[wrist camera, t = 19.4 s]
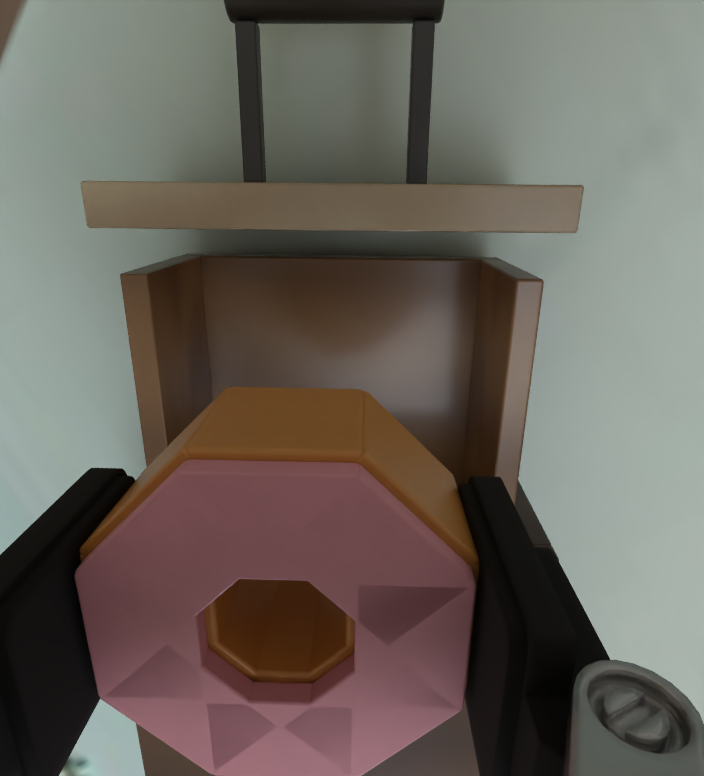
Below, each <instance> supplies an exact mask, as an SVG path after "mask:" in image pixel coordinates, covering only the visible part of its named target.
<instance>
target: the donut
mask: <svg viewBox="0 0 704 776" xmlns="http://www.w3.org/2000/svg"><path fill="white" fill-rule="evenodd" d="M79 552H80V560H81V564H80V566H79V567H78V568H77V569H76V572H75V575H74V578H75V583H76V588H77V593H78V597H79V602H80V607H81V612H82V617H83V622H84V627H85V632H86V637H87V642H88V647H89V652H90V656H91V661H92V666H93V671H94V676H95V681H96V686H97V691H98V696H99V697H100V698H101V699H102V700H103V701H104V702H106V703H107V704H109V705H110V706H112V707H113V708H115V709H116V710H118V711H119V712H121V713H122V714H124V715H125V716H126V717H128V718H129V719H131V720H132V721H134V722H135V723H137V724H138V725H140V726H141V727H143V728H144V729H145V730H147V731H148V732H150V733H151V734H153V735H154V736H156V737H157V738H159V739H160V740H162V741H163V742H165V743H166V744H167V745H169V746H170V747H172V748H173V749H175V750H176V751H178V752H179V753H181V754H182V755H184V756H185V757H187V758H188V759H189V760H191V761H192V762H194V763H195V764H197V765H198V766H200V767H201V768H203V769H204V770H206V771H207V772H208V773H210V774H214V775H216V776H361V775H363V774H364V773H366V772H368V771H369V770H371V769H372V768H374V767H375V766H377V765H378V764H380V763H381V762H383V761H384V760H386V759H388V758H389V757H391V756H392V755H394V754H395V753H397V752H398V751H400V750H401V749H403V748H404V747H406V746H407V745H409V744H411V743H412V742H414V741H415V740H417V739H418V738H420V737H421V736H423V735H424V734H426V733H427V732H429V731H430V730H432V729H434V728H435V727H437V726H438V725H440V724H441V723H443V722H444V721H446V720H447V719H449V718H450V717H452V716H453V715H455V714H457V713H458V712H460V711H461V710H462V708H463V706H464V697H465V691H466V686H467V678H468V668H469V659H470V650H471V640H472V631H473V622H474V613H475V603H476V594H477V585H478V575H479V557H478V554H477V550H476V547H475V544H474V541H473V537H472V534H471V531H470V528H469V524H468V521H467V518H466V515H465V512H464V508H463V505H462V502H461V499H460V495H459V492H458V488H457V485H456V482H455V479H454V476H453V474H452V473H451V472H450V471H449V470H448V469H447V468H446V467H445V466H444V465H443V464H441V463H440V462H439V461H438V460H437V459H436V458H435V457H434V456H433V455H432V454H431V453H430V452H429V451H428V450H427V449H426V448H425V447H424V446H423V445H422V444H421V443H420V442H419V441H418V440H417V439H416V438H415V437H414V436H413V435H412V434H411V433H410V432H409V431H408V430H407V429H406V428H405V427H404V426H403V425H402V424H400V423H399V422H398V421H397V420H396V419H395V418H394V417H393V416H392V415H391V414H390V413H389V412H388V411H387V410H386V409H385V408H384V407H383V406H382V405H381V404H380V403H379V402H378V401H377V400H376V399H375V398H374V397H373V396H372V395H371V394H370V393H369V392H367V391H363V390H360V389H327V388H271V387H231V388H226V389H225V390H224V391H223V392H222V393H221V394H220V395H219V396H218V397H217V398H216V399H215V400H214V401H213V402H212V403H211V404H210V405H209V406H208V407H207V408H206V409H205V410H204V411H203V412H202V413H201V414H200V415H199V416H198V417H197V418H196V419H195V420H194V421H193V422H192V423H191V424H190V425H189V426H188V427H187V428H186V429H185V430H184V431H183V432H182V433H181V434H180V435H179V436H178V437H177V438H176V439H175V440H174V441H173V442H172V443H171V444H170V445H169V446H168V447H167V448H166V449H165V450H164V451H163V452H162V453H161V454H160V455H159V456H158V457H157V458H156V459H155V460H154V461H153V462H152V463H151V464H150V465H149V466H148V467H147V468H146V469H145V470H144V471H143V472H142V474H141V475H140V476H139V477H138V478H137V480H136V481H135V482H134V483H133V484H132V486H131V487H130V488H129V489H128V491H127V492H126V493H125V494H124V495H123V497H122V498H121V499H120V500H119V501H118V503H117V504H116V505H115V506H114V507H113V509H112V510H111V511H110V512H109V513H108V515H107V516H106V517H105V518H104V520H103V521H102V522H101V523H100V524H99V526H98V527H97V528H96V529H95V530H94V532H93V533H92V534H91V535H90V536H89V538H88V539H87V540H86V541H85V542H84V544H83V545H82V546H81V547H80V551H79Z"/></svg>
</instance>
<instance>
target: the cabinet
mask: <svg viewBox="0 0 704 776" xmlns="http://www.w3.org/2000/svg"><path fill="white" fill-rule="evenodd" d="M515 508H516V510H517V512H518V514H519V516H520V518H521V520H522V522H523V524H524V526H525V528H526V531H527V533H528V535H529V537H530V539H531V541H532V543H533V545H534V547H548V548H550V549H551V550H552V551H553V552H554V554H555V555H556V553H555V551H554V549H553V547H552V546H551V543H550V541H549V539H548V537H547V535H546V533H545V531H544V530H543V528H542V526H541V524H540V522H539V520H538V518H537V516H536V514H535V512H534V510H533V508H532V506H531V504H530V502H529V500H528V499H527V497H526V495H525V493H524V491H523V489H522V487H521V485H520V483H519V481H518V484H517V491H516V499H515ZM556 557H557V555H556ZM557 559H558V557H557ZM558 561H559V559H558ZM136 726H137V731H138V737H139V743H140V748H141V754H142V759H143V765H144V770H145V776H216V775H214V774H210V773H208V772H207V771H206V770H204V769H203V768H201V767H200V766H198V765H197V764H195V763H194V762H192V761H191V760H189V759H188V758H187V757H185V756H184V755H182V754H181V753H179V752H178V751H176V750H175V749H173V748H172V747H170V746H169V745H167V744H166V743H165V742H163V741H162V740H160V739H159V738H157V737H156V736H154V735H153V734H151V733H150V732H148V731H147V730H145V729H144V728H143V727H141V726H140V725H138V724H137V723H136ZM361 776H480V774H479V769H478V764H477V758H476V753H475V748H474V743H473V738H472V733H471V727H470V722H469V717H468V712H467V707H466V701H465V697H464V706H463V708H462V710H461V711H460V712H458V713H457V714H455V715H453V716H452V717H450V718H449V719H447V720H446V721H444V722H443V723H441V724H440V725H438V726H437V727H435V728H434V729H432V730H430V731H429V732H427V733H426V734H424V735H423V736H421V737H420V738H418V739H417V740H415V741H414V742H412V743H411V744H409V745H407V746H406V747H404V748H403V749H401V750H400V751H398V752H397V753H395V754H394V755H392V756H391V757H389V758H388V759H386V760H384V761H383V762H381V763H380V764H378V765H377V766H375V767H374V768H372V769H371V770H369V771H368V772H366V773H364V774H363V775H361Z"/></svg>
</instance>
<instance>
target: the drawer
mask: <svg viewBox="0 0 704 776" xmlns="http://www.w3.org/2000/svg"><path fill="white" fill-rule="evenodd" d="M444 1H445V0H224V3H225V8H226V11H227V15H228V17H229V19H230V21H231V22H232V23H234V24H235V33H236V50H237V68H238V86H239V103H240V121H241V139H242V156H243V174H244V182H143V181H82V182H81V189H82V195H83V202H84V208H85V215H86V221H87V226H88V227H90V228H152V229H243V230H334V231H425V232H516V233H576V232H577V230H578V223H579V217H580V210H581V203H582V196H583V189H584V187H583V186H582V185H507V184H426V183H427V164H428V145H429V126H430V107H431V88H432V69H433V50H434V31H435V24H437V23H439V22H440V21H441V18H442V15H443V9H444ZM258 24H413V26H412V43H411V68H410V93H409V118H408V143H407V168H406V184H386V183H266V169H265V146H264V123H263V100H262V77H261V54H260V31H259V26H258ZM120 277H121V285H122V292H123V299H124V306H125V314H126V321H127V328H128V335H129V343H130V350H131V357H132V364H133V371H134V379H135V386H136V393H137V400H138V408H139V415H140V422H141V429H142V437H143V444H144V451H145V458H146V465H147V467H148V466H149V465H150V464H151V463H152V462H153V461H154V460H155V459H156V458H157V457H158V456H159V455H160V454H161V453H162V452H163V451H164V450H165V449H166V448H167V447H168V446H169V445H170V444H171V443H172V442H173V441H174V440H175V439H176V438H177V437H178V436H179V435H180V434H181V433H182V432H183V431H184V430H185V429H186V428H187V427H188V426H189V425H190V424H191V423H192V422H193V421H194V420H195V419H196V418H197V417H198V416H199V415H200V414H201V413H202V412H203V411H204V410H205V409H206V408H207V407H208V406H209V405H210V404H211V403H212V402H213V401H214V400H215V399H216V398H217V397H218V396H219V395H220V394H221V393H222V392H223V391H224V390H225V389H226V388H231V387H271V388H327V389H360V390H363V391H367V392H369V393H370V394H371V395H372V396H373V397H374V398H375V399H376V400H377V401H378V402H379V403H380V404H381V405H382V406H383V407H384V408H385V409H386V410H387V411H388V412H389V413H390V414H391V415H392V416H393V417H394V418H395V419H396V420H397V421H398V422H399V423H400V424H402V425H403V426H404V427H405V428H406V429H407V430H408V431H409V432H410V433H411V434H412V435H413V436H414V437H415V438H416V439H417V440H418V441H419V442H420V443H421V444H422V445H423V446H424V447H425V448H426V449H427V450H428V451H429V452H430V453H431V454H432V455H433V456H434V457H435V458H436V459H437V460H438V461H439V462H440V463H441V464H443V465H444V466H445V467H446V468H447V469H448V470H449V471H450V472H451V473H452V474H453V476H454V479H455V482H456V485H457V488H458V486H459V484H460V483H465V484H468V481H469V478H470V476H490V477H501V479H502V480H503V482H504V485H505V487H506V489H507V491H508V493H509V495H510V497H511V499H512V501H513V503H514V505H515V499H516V491H517V484H518V476H519V468H520V461H521V453H522V445H523V437H524V430H525V422H526V414H527V407H528V399H529V391H530V384H531V376H532V368H533V361H534V353H535V345H536V338H537V330H538V322H539V315H540V307H541V299H542V292H543V284H544V282H543V280H542V279H540V278H538V277H536V276H534V275H532V274H530V273H528V272H526V271H523V270H521V269H519V268H517V267H515V266H513V265H511V264H509V263H507V262H505V261H503V260H501V259H499V258H496V257H419V256H339V255H258V254H185V255H182V256H178V257H174V258H171V259H168V260H164V261H161V262H158V263H155V264H151V265H148V266H145V267H141V268H138V269H135V270H132V271H128V272H125V273H122V274H120Z"/></svg>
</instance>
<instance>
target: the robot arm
mask: <svg viewBox="0 0 704 776" xmlns="http://www.w3.org/2000/svg"><path fill="white" fill-rule="evenodd" d="M134 482H135V479H134V478H133V477H132V476H127V474H126V472H125V470H123V469H117V468H91V469H89V470H88V471H87V472H86V473H85V474H84V475H83V476H82V477H80V478H79V479H78V480H77V481H76V482H75V483H74V484H73V485H72V486H71V487H70V488H69V489H68V490H67V491H66V492H65V493H64V494H63V495H62V496H61V497H60V498H59V499H58V500H57V501H56V502H55V503H54V504H53V505H52V506H50V507H49V508H48V509H47V510H46V511H45V512H44V513H43V514H42V515H41V516H40V517H39V518H38V519H37V520H36V521H35V522H34V523H33V524H32V525H31V526H30V527H29V528H28V529H27V530H26V531H25V532H24V533H23V534H22V535H20V536H19V537H18V538H17V539H16V540H15V541H14V542H13V543H12V544H11V545H10V546H9V547H8V548H7V549H6V550H5V551H4V552H3V553H2V554H1V555H0V776H59V774H60V772H61V770H62V769H63V767H64V765H65V763H66V761H67V759H68V757H69V756H70V754H71V752H72V750H73V748H74V746H75V744H76V743H77V741H78V739H79V737H80V735H81V733H82V731H83V729H84V728H85V726H86V724H87V722H88V720H89V718H90V716H91V715H92V713H93V711H94V709H95V707H96V705H97V703H98V702H99V700H100V697H99V696H98V691H97V686H96V681H95V676H94V671H93V666H92V661H91V656H90V652H89V647H88V642H87V637H86V632H85V627H84V622H83V617H82V612H81V607H80V602H79V597H78V593H77V588H76V583H75V578H74V575H75V572H76V569H77V568H78V567H79V566H80V564H81V560H80V552H79V551H80V547H81V546H82V545H83V544H84V542H85V541H86V540H87V539H88V538H89V536H90V535H91V534H92V533H93V532H94V530H95V529H96V528H97V527H98V526H99V524H100V523H101V522H102V521H103V520H104V518H105V517H106V516H107V515H108V513H109V512H110V511H111V510H112V509H113V507H114V506H115V505H116V504H117V503H118V501H119V500H120V499H121V498H122V497H123V495H124V494H125V493H126V492H127V491H128V489H129V488H130V487H131V486H132V484H133V483H134ZM458 492H459V495H460V499H461V502H462V505H463V508H464V512H465V515H466V518H467V521H468V524H469V528H470V531H471V534H472V537H473V541H474V544H475V547H476V550H477V554H478V557H479V575H478V585H477V594H476V603H475V613H474V622H473V631H472V640H471V650H470V659H469V668H468V678H467V686H466V691H465V701H466V707H467V712H468V717H469V722H470V727H471V733H472V738H473V743H474V748H475V753H476V758H477V764H478V769H479V774H480V776H704V724H703V721H702V719H701V716H700V714H699V712H698V711H697V710H696V708H695V707H694V706H693V704H692V703H691V702H690V700H689V699H688V698H687V697H686V696H685V695H684V694H683V693H682V692H681V691H680V690H679V689H677V688H676V687H675V686H674V685H673V684H672V683H671V682H669V681H667V680H666V679H664V678H663V677H661V676H659V675H658V674H656V673H655V672H653V671H651V670H648V669H646V668H643V667H641V666H638V665H636V664H633V663H628V662H623V661H618V660H610V658H609V656H608V654H607V652H606V651H605V649H604V647H603V645H602V643H601V641H600V639H599V637H598V635H597V633H596V632H595V630H594V628H593V626H592V624H591V622H590V620H589V618H588V616H587V614H586V612H585V611H584V609H583V607H582V605H581V603H580V601H579V599H578V597H577V595H576V593H575V592H574V590H573V588H572V586H571V584H570V582H569V580H568V578H567V576H566V574H565V573H564V571H563V569H562V567H561V565H560V563H559V561H558V559H557V557H556V555H555V554H554V552H553V551H552V550H551V549H550V548H548V547H534V545H533V543H532V541H531V539H530V537H529V535H528V533H527V531H526V528H525V526H524V524H523V522H522V520H521V518H520V516H519V514H518V512H517V510H516V508H515V505H514V503H513V501H512V499H511V497H510V495H509V493H508V491H507V489H506V487H505V485H504V482H503V480H502V479H501V477H490V476H470V478H469V481H468V484H465V483H460V484H459V486H458Z"/></svg>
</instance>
